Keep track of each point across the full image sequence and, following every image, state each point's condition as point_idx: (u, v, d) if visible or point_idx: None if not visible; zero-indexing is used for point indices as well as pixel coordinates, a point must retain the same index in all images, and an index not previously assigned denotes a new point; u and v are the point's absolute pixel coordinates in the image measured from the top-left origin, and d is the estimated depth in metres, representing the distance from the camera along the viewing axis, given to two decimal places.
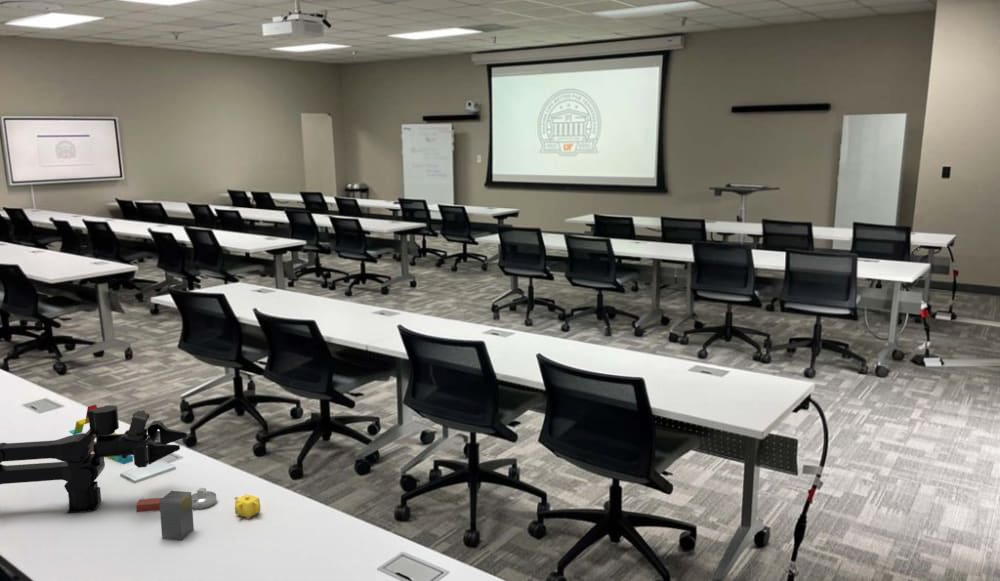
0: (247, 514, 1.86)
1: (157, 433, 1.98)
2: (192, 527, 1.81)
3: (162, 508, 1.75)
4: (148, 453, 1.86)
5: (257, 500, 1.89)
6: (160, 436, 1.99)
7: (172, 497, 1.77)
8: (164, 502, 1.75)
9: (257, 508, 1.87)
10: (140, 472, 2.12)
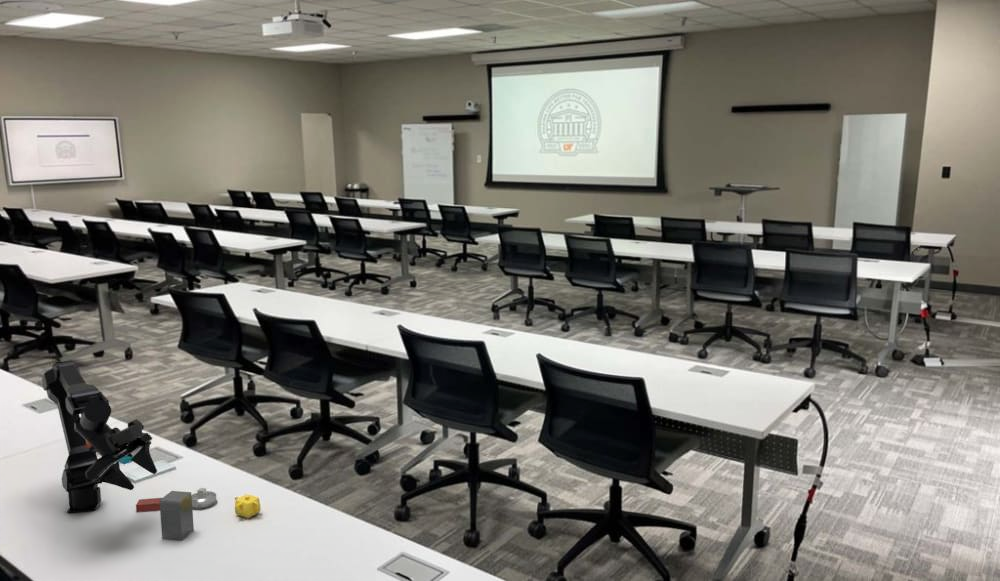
0: (247, 514, 1.86)
1: (137, 448, 1.83)
2: (192, 527, 1.81)
3: (162, 508, 1.75)
4: (103, 473, 1.70)
5: (257, 500, 1.89)
6: (137, 453, 1.83)
7: (172, 497, 1.77)
8: (164, 502, 1.75)
9: (257, 508, 1.87)
10: (140, 472, 2.12)
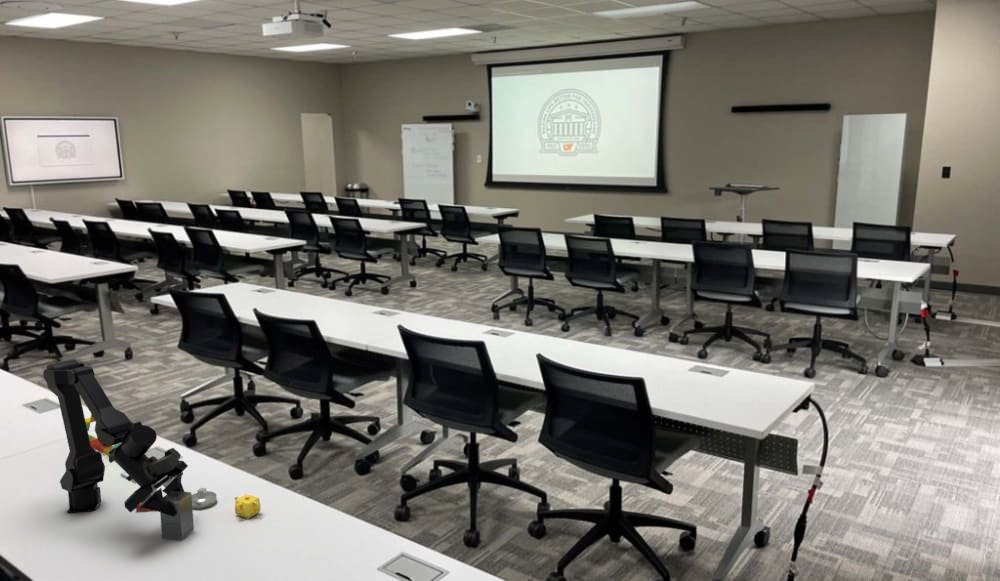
0: (247, 514, 1.86)
1: (169, 479, 1.81)
2: (192, 527, 1.81)
3: None
4: (147, 500, 1.71)
5: (257, 500, 1.89)
6: (169, 484, 1.81)
7: (172, 497, 1.77)
8: None
9: (257, 508, 1.87)
10: None
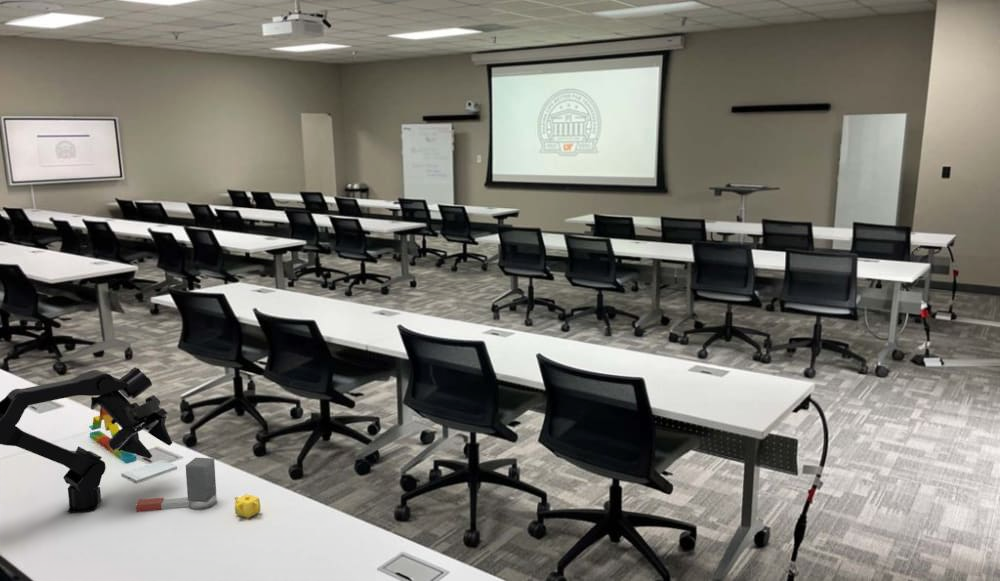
0: (247, 514, 1.86)
1: (154, 422, 2.01)
2: (215, 491, 1.96)
3: (188, 472, 1.91)
4: (124, 443, 1.88)
5: (257, 500, 1.89)
6: (154, 426, 2.01)
7: (197, 462, 1.92)
8: (190, 467, 1.91)
9: (257, 508, 1.87)
10: (141, 472, 2.12)
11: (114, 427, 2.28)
